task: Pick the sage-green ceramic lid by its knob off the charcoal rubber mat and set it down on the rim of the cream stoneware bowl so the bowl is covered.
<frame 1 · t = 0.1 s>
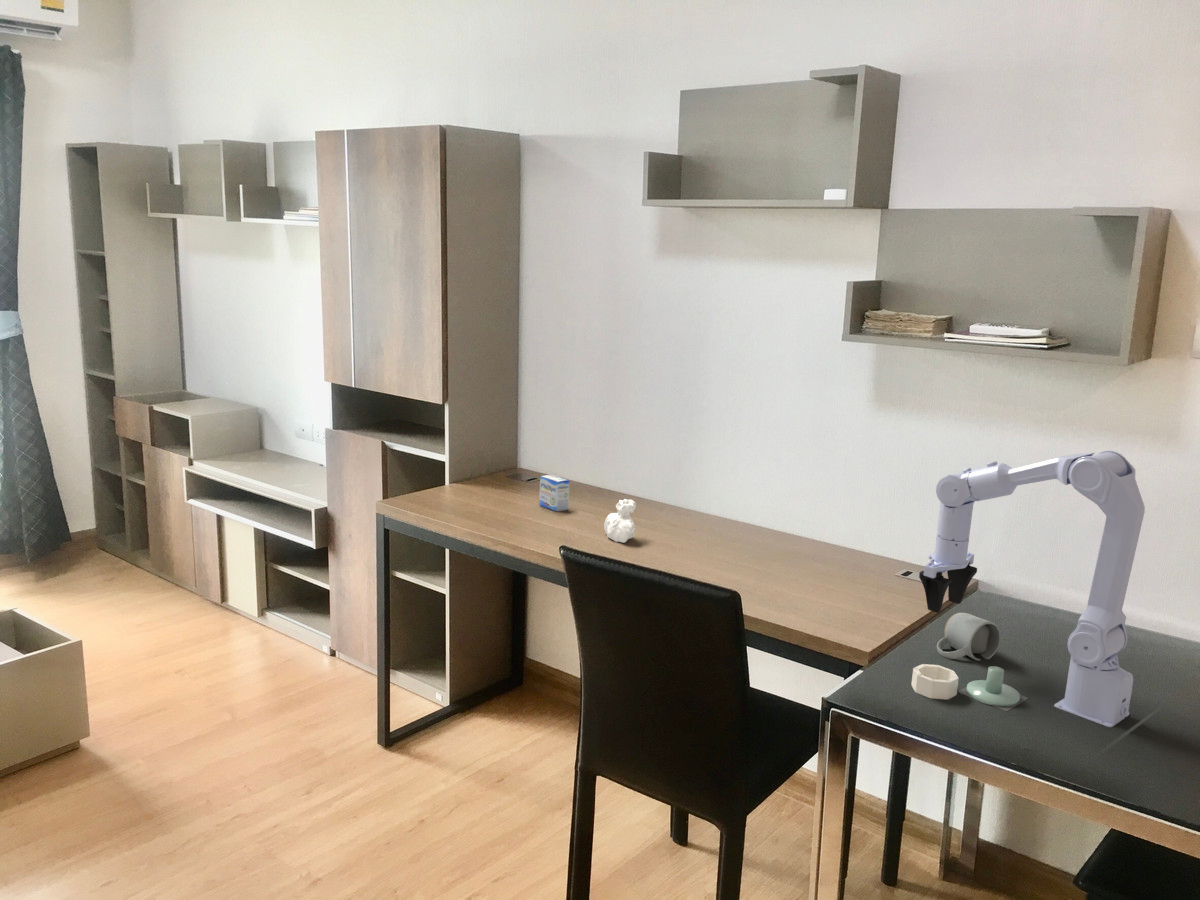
hand: (944, 606, 187), 10 cm above the table, fingers open, 7 cm apart
lid: (992, 695, 173), resting on mat
ceramic mug: (963, 655, 191), on the table
mat: (992, 697, 173), on the table
bowl: (933, 691, 174), on the table
white tied sack: (620, 539, 255), on the table
medicine box: (553, 508, 281), on the table
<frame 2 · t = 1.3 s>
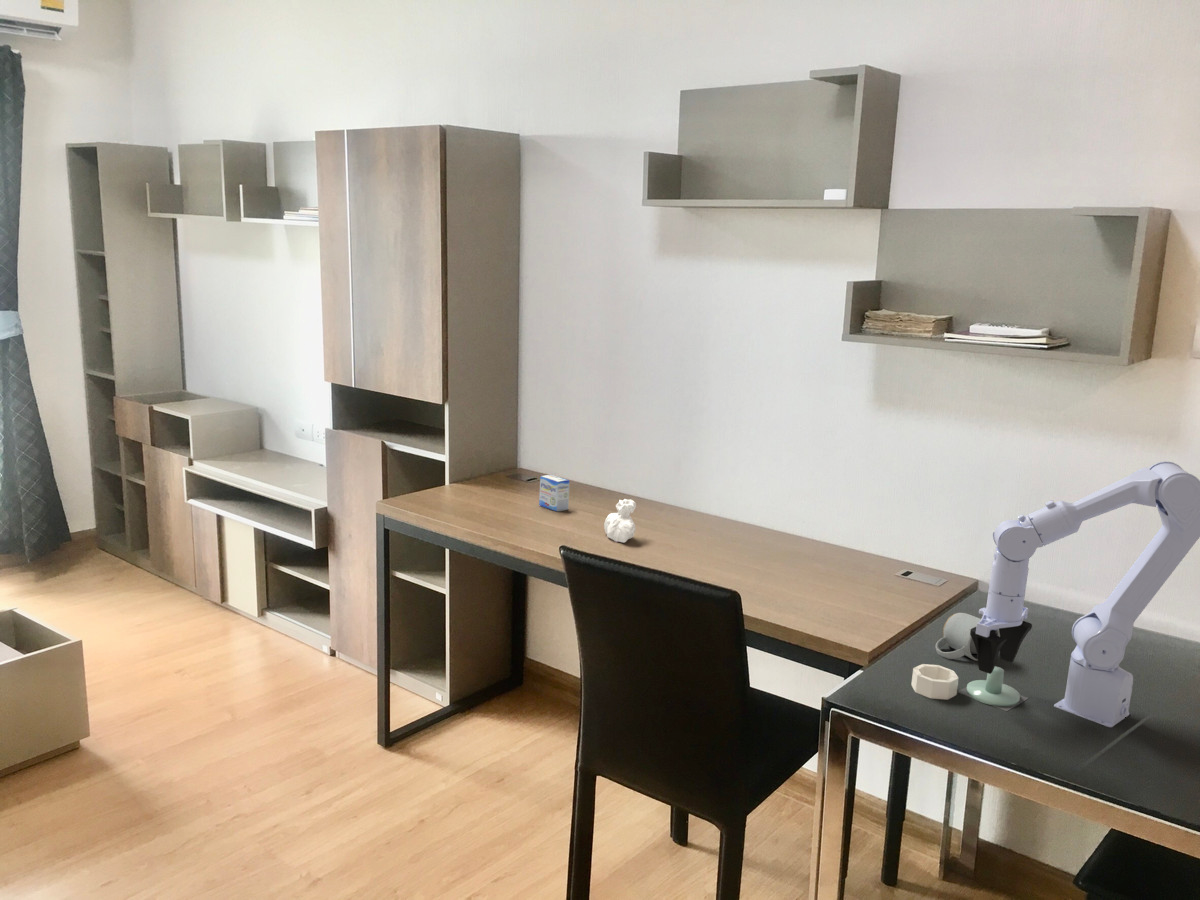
hand: (996, 665, 172), 6 cm above the table, fingers open, 7 cm apart
nothing on the table moved.
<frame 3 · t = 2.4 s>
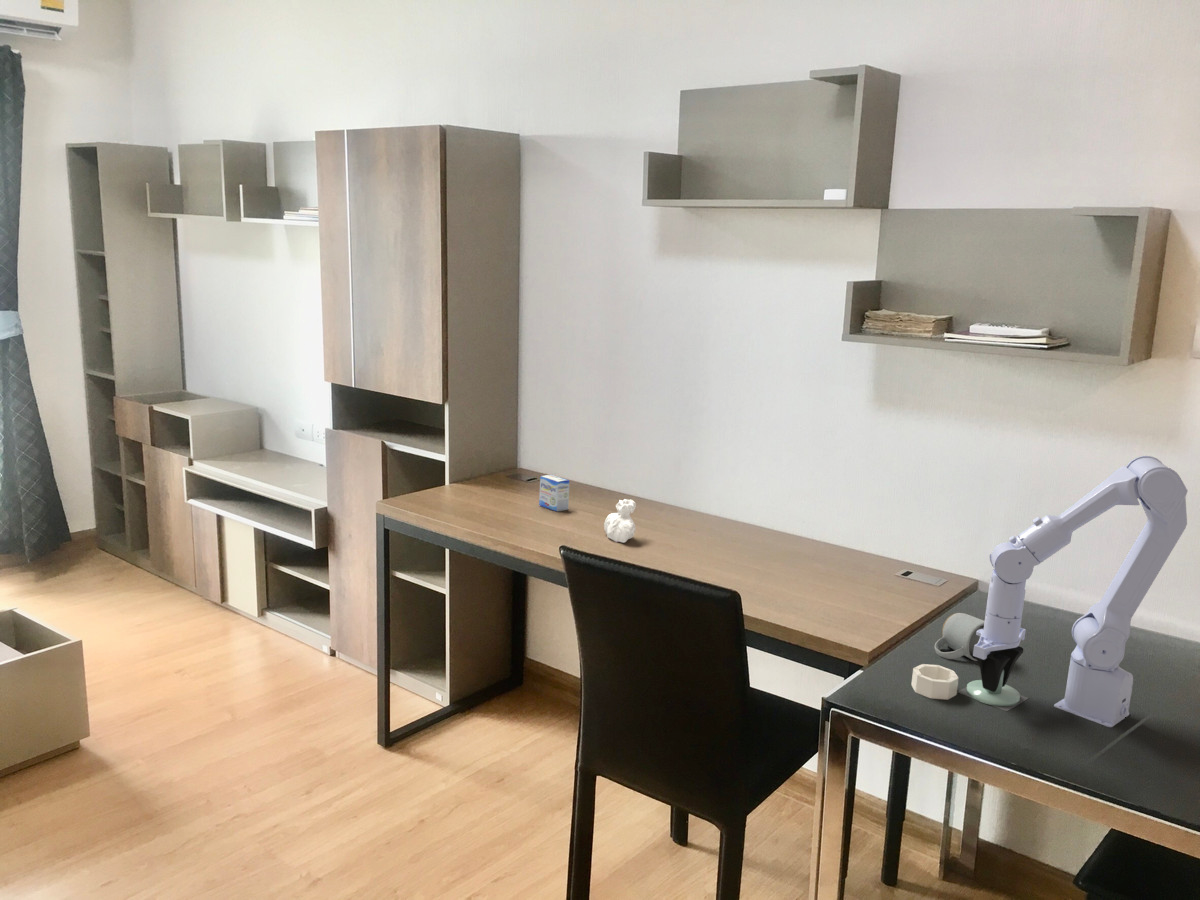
hand: (993, 687, 173), 2 cm above the table, fingers closed on lid, 3 cm apart
lid: (992, 695, 173), resting on mat, touching gripper
everything else where it was.
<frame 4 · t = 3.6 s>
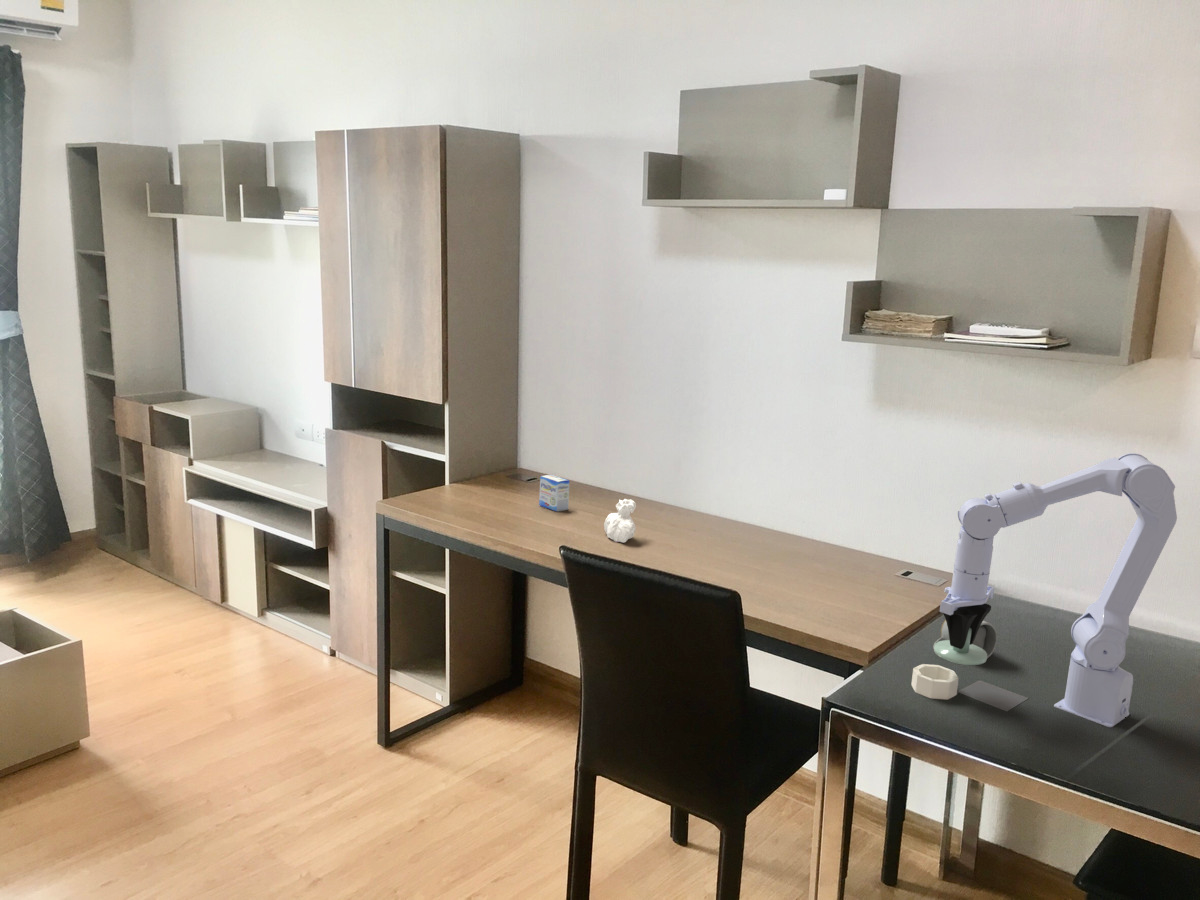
hand: (961, 644, 172), 9 cm above the table, fingers closed on lid, 3 cm apart
lid: (960, 654, 172), point 7 cm above the table, touching gripper
everything else where it was.
when the fingers open (6 cm above the table, at t = 4.6 s): lid stays where it is, resting on bowl.
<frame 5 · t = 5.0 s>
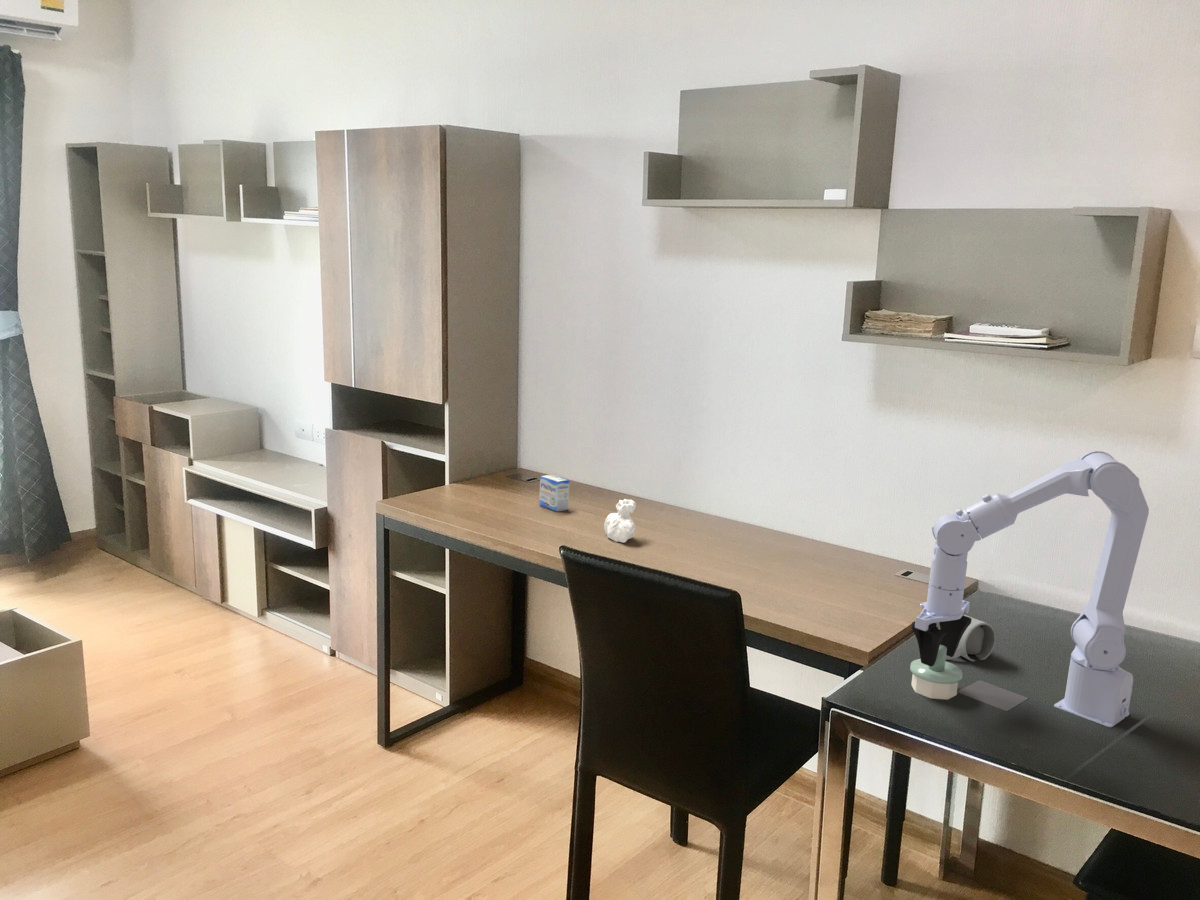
hand: (937, 659, 173), 6 cm above the table, fingers open, 6 cm apart
lid: (935, 673, 173), point 3 cm above the table, touching bowl
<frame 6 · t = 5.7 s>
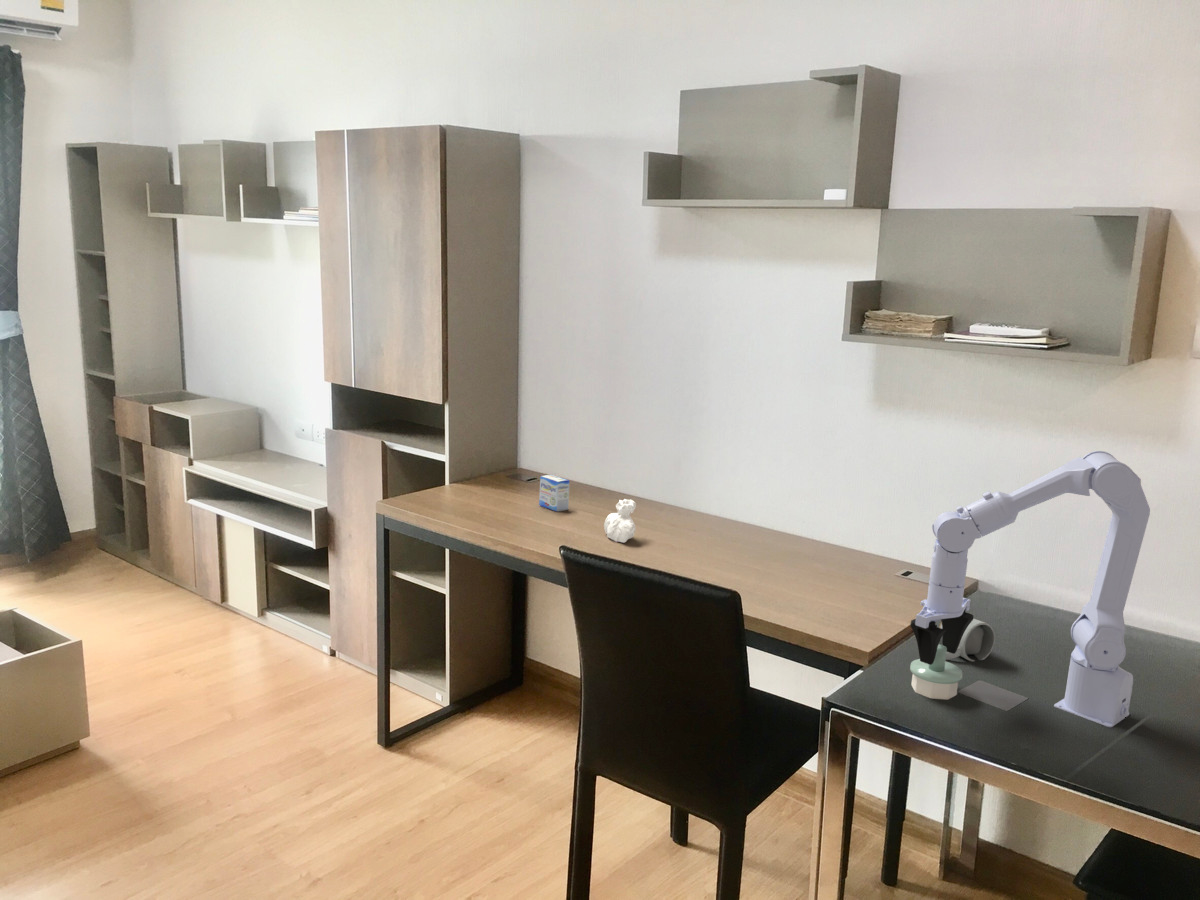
hand: (937, 657, 173), 6 cm above the table, fingers open, 7 cm apart
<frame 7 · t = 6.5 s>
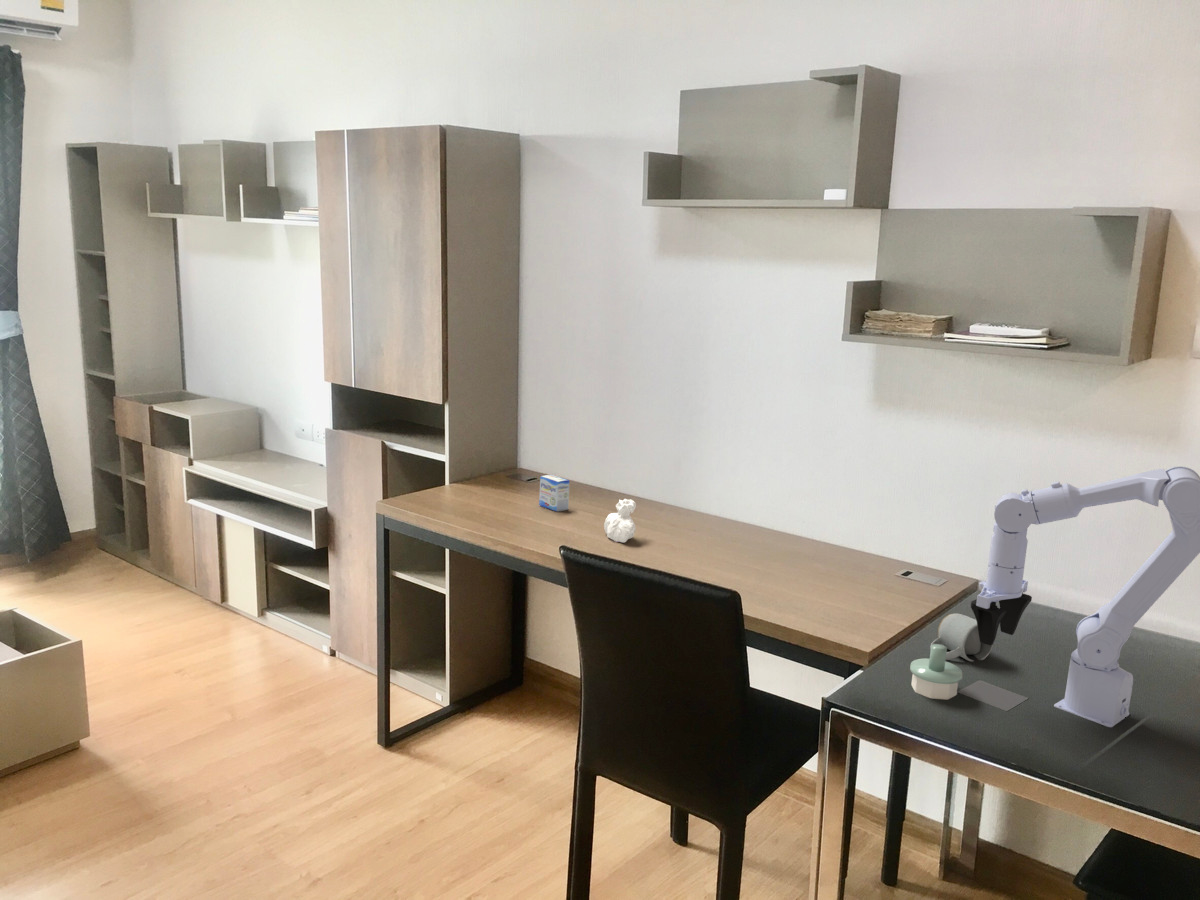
hand: (996, 638, 174), 10 cm above the table, fingers open, 7 cm apart
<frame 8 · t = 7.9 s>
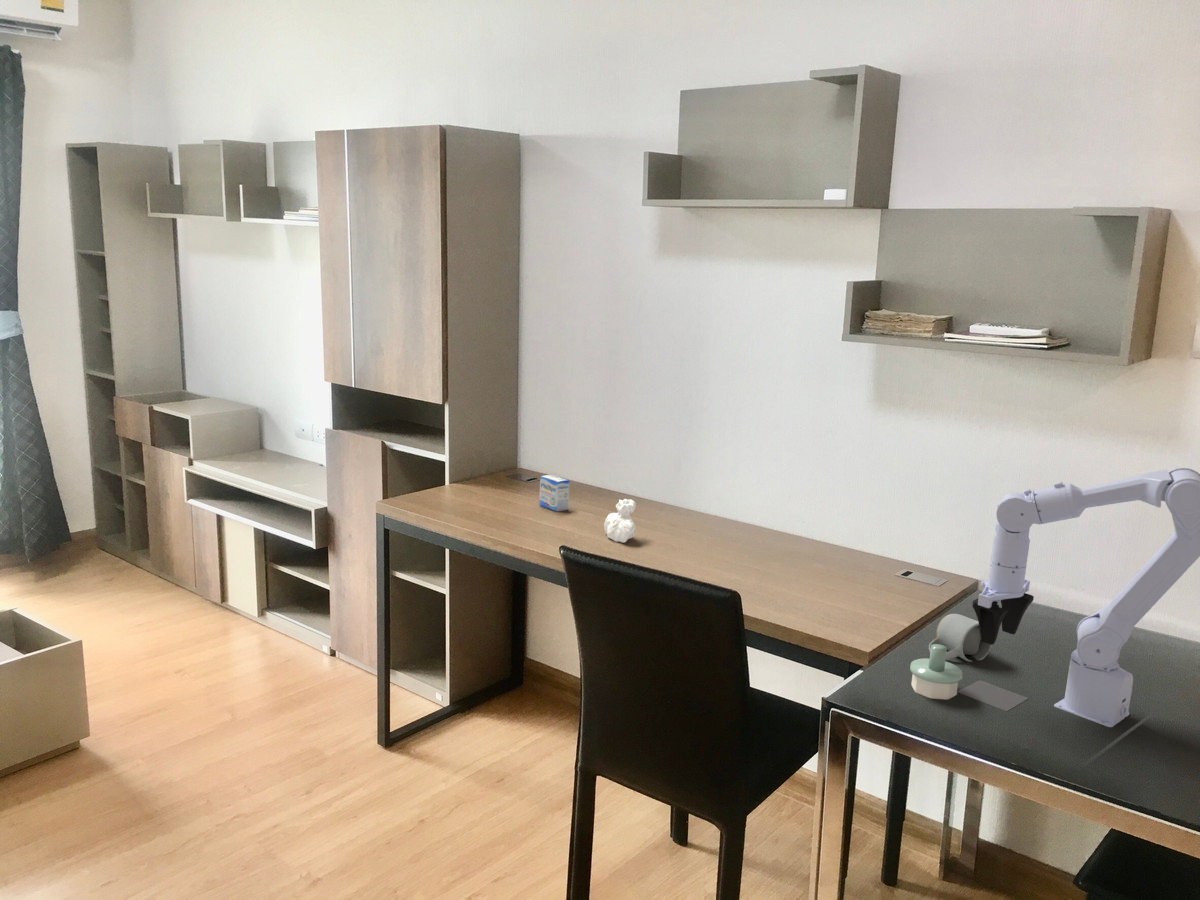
hand: (998, 637, 174), 10 cm above the table, fingers open, 7 cm apart
at the end: lid 0.0 cm off-centre on the bowl, point 3.5 cm above the bowl's base; lid tilted 0°; the gripper is holding nothing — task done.
